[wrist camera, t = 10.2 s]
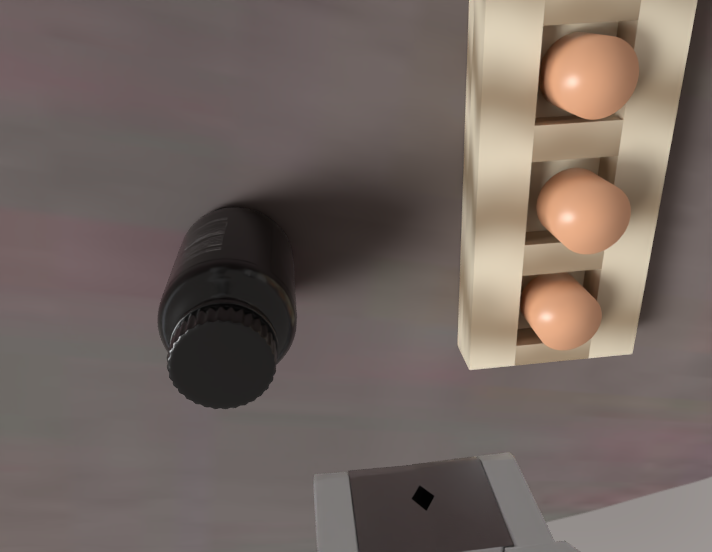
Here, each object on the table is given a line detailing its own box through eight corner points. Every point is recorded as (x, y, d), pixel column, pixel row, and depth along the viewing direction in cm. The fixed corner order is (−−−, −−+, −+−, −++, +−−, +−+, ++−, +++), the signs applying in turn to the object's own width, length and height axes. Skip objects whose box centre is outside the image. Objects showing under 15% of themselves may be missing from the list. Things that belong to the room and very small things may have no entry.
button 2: (542, 34, 31) (565, 38, 29) (614, 29, 32) (645, 33, 29) (535, 111, 33) (557, 122, 31) (604, 106, 34) (632, 116, 31)
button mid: (539, 170, 33) (561, 186, 31) (608, 165, 34) (636, 180, 31) (533, 236, 35) (554, 257, 32) (599, 231, 35) (624, 251, 33)
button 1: (521, 273, 38) (540, 295, 35) (583, 268, 38) (606, 289, 35) (517, 328, 39) (534, 353, 37) (576, 322, 40) (597, 347, 37)
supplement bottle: (184, 304, 38) (143, 428, 27) (179, 201, 35) (131, 295, 24) (293, 306, 39) (295, 427, 28) (296, 206, 36) (300, 299, 25)
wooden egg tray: (469, -5, 32) (486, -5, 29) (666, -16, 33) (700, -16, 30) (457, 345, 41) (469, 370, 39) (610, 330, 42) (632, 353, 40)
